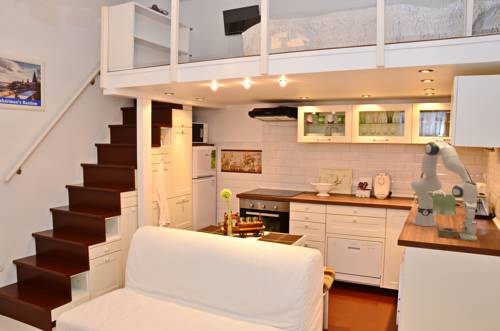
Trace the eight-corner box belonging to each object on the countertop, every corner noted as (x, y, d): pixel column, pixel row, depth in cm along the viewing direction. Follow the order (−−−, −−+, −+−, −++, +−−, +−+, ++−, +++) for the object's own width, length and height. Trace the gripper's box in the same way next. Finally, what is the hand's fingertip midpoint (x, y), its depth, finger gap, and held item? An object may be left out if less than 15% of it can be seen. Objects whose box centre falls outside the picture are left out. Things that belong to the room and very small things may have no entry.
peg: (464, 232, 280) (464, 217, 280) (471, 233, 279) (471, 218, 278) (464, 234, 276) (465, 218, 275) (471, 234, 275) (472, 219, 274)
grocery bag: (453, 213, 377) (455, 189, 375) (456, 215, 364) (457, 191, 362) (418, 210, 387) (419, 188, 385) (419, 213, 373) (421, 189, 372)
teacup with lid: (474, 232, 296) (475, 217, 295) (477, 235, 287) (478, 220, 286) (457, 231, 300) (458, 216, 299) (459, 233, 291) (460, 218, 291)
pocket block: (437, 233, 290) (438, 227, 290) (455, 235, 286) (456, 228, 286) (439, 237, 279) (439, 230, 279) (457, 239, 275) (458, 232, 274)
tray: (458, 235, 285) (458, 233, 285) (474, 237, 281) (474, 234, 281) (460, 239, 274) (461, 236, 274) (477, 241, 270) (477, 238, 270)
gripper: (462, 201, 287) (461, 220, 288) (466, 206, 268) (465, 225, 269) (472, 202, 284) (471, 221, 285) (477, 206, 266) (475, 226, 266)
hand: (468, 223), depth 277 cm, fingers closed on peg, 4 cm apart
